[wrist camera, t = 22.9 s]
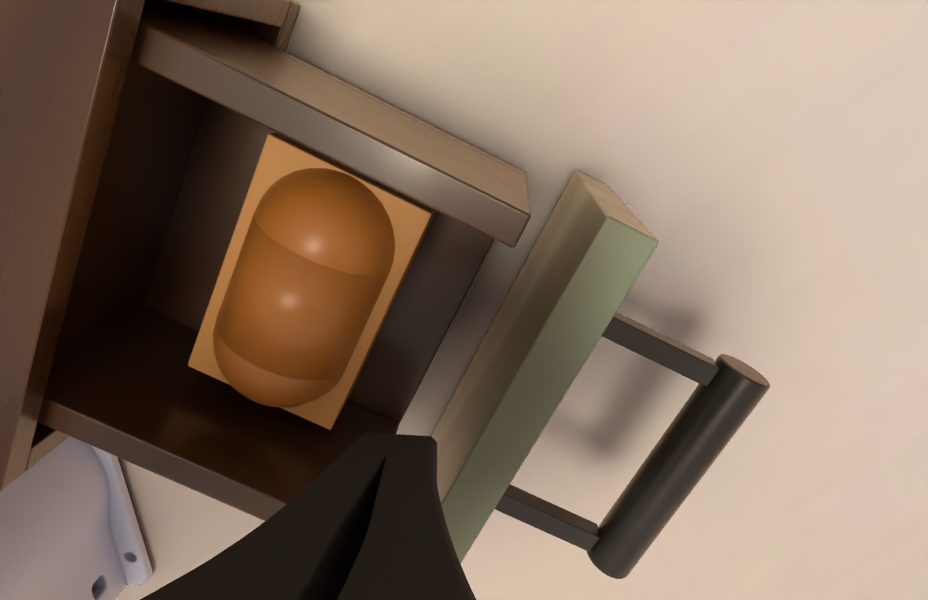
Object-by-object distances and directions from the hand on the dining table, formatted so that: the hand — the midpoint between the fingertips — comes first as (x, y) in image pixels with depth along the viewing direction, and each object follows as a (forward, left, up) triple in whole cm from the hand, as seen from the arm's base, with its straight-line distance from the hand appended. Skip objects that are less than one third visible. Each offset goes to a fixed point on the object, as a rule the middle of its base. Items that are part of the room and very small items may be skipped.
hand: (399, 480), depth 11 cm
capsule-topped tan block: (+2, +3, -8) cm, 9 cm away
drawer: (0, +1, -9) cm, 10 cm away
